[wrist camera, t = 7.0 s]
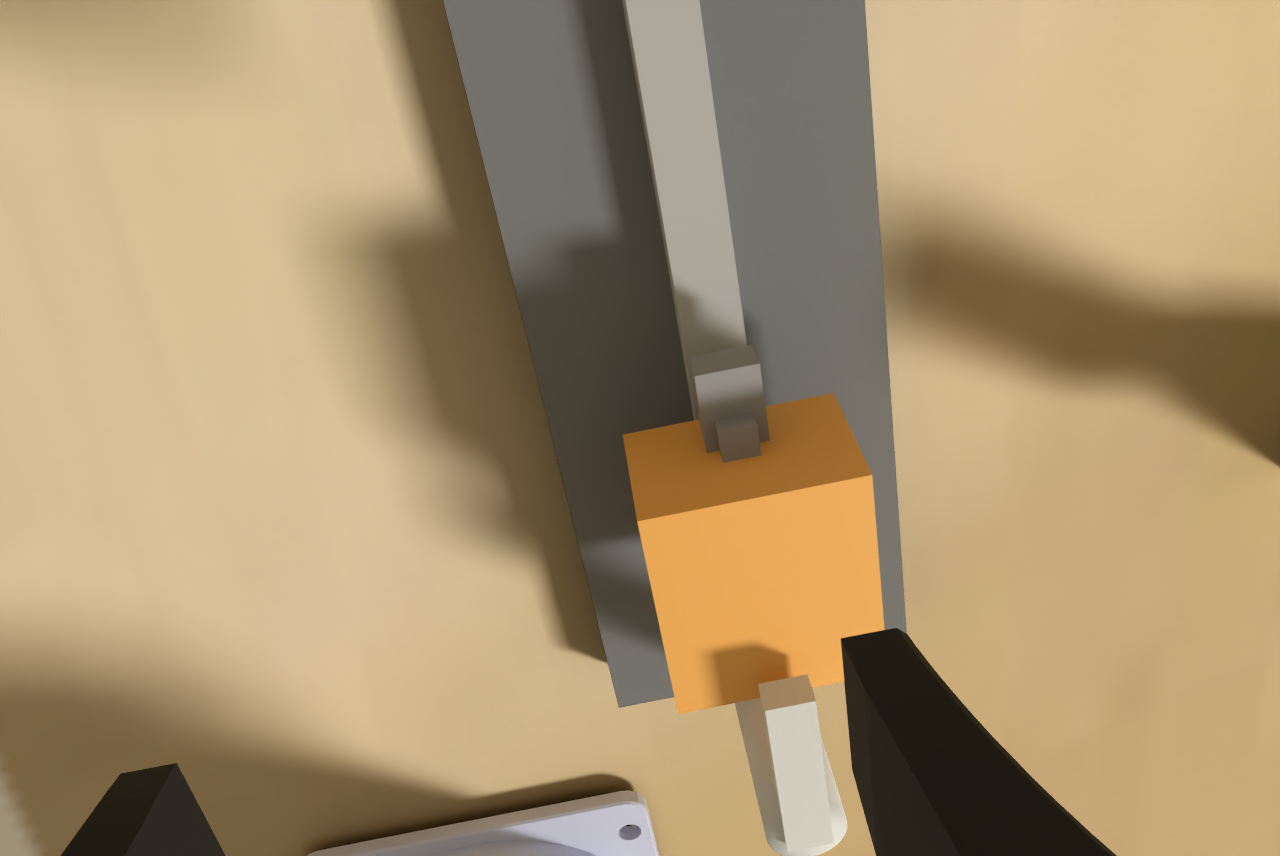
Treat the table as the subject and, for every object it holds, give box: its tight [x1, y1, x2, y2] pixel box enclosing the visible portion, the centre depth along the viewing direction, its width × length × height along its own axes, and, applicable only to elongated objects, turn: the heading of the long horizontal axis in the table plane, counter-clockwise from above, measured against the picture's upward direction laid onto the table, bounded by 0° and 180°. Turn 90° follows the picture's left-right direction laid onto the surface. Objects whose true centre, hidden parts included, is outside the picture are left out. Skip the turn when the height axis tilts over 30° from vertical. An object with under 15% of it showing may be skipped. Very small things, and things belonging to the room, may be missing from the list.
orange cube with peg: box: [623, 345, 885, 714], centre depth 19 cm, size 5×4×2 cm, turn 9°
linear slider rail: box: [443, 0, 907, 856], centre depth 19 cm, size 15×6×6 cm, turn 9°
